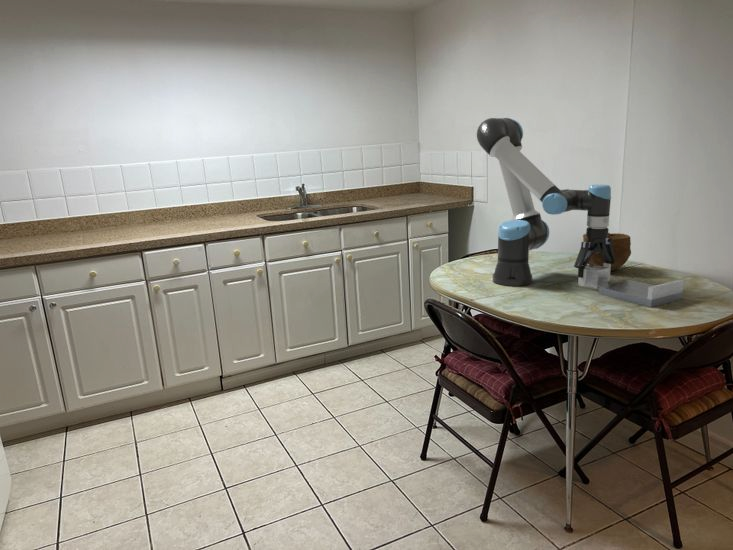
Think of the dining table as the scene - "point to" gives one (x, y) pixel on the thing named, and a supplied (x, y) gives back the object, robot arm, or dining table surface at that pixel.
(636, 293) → the ledge
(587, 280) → the grey block
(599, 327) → the dining table surface
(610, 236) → the bowl
